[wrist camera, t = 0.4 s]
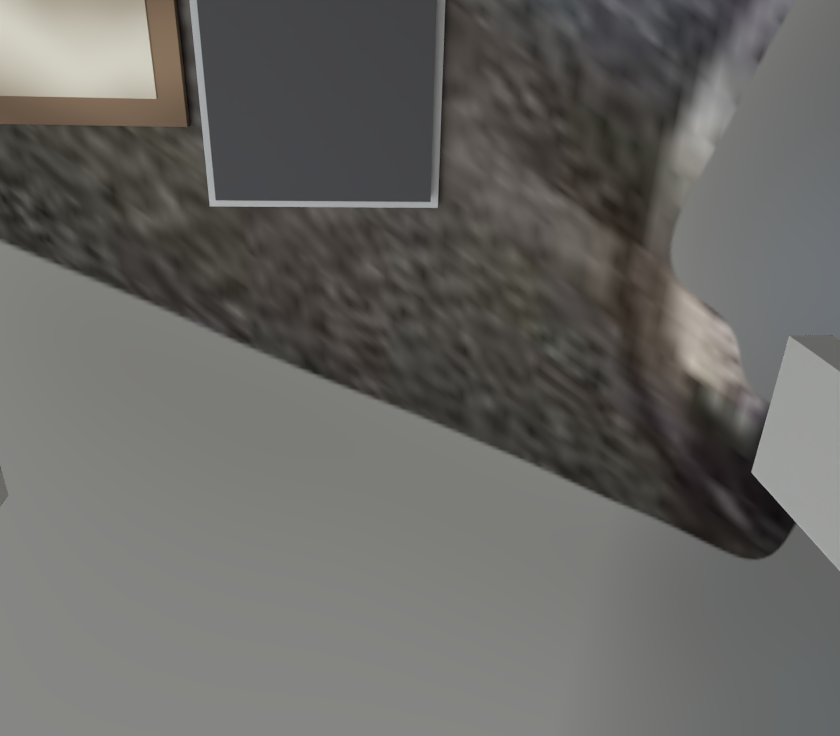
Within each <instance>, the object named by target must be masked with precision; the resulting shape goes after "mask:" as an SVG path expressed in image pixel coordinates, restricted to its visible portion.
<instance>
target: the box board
mask: <svg viewBox="0 0 840 736" xmlns="http://www.w3.org/2000/svg"><path fill="white" fill-rule="evenodd" d="M0 124H35V125H96V126H156V127H188V126H190V123H189V113H188V104H187V94H186V85H185V76H184V66H183V57H182V47H181V38H180V28H179V19H178V9H177V0H0Z"/></svg>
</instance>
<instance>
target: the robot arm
mask: <svg viewBox="0 0 840 736" xmlns="http://www.w3.org/2000/svg"><path fill="white" fill-rule="evenodd" d="M751 473H752V474H753V475H754V476H755V477H756V478H757V479H758V480H759V481H760V483H761V484H762V485H763V486H764V487H765V488H766V489H767V490H768V492H769V493H770V494H771V495H772V496H773V497H774V498H775V499H776V500H777V502H778V503H779V504H780V505H781V506H782V507H783V508H784V509H785V511H786V512H787V513H788V514H789V515H790V516H791V517H792V518H793V519H794V521H795V522H796V523H797V524H798V525H799V526H800V527H801V528H802V529H803V531H804V532H805V533H806V534H807V535H808V536H809V537H810V538H811V540H812V541H813V542H814V543H815V544H816V545H817V546H818V547H819V549H820V550H821V551H822V552H823V553H824V554H825V555H826V556H827V557H828V559H829V560H830V561H831V562H832V563H833V564H834V565H835V566H836V568H837V569H838V570H839V571H840V340H839V339H837V338H836V337H834V336H833V335H814V336H813V335H812V336H811V335H810V336H809V335H808V336H807V335H805V336H789V339H788V342H787V346H786V349H785V353H784V357H783V360H782V364H781V368H780V371H779V375H778V379H777V382H776V386H775V389H774V393H773V396H772V400H771V404H770V407H769V411H768V415H767V418H766V422H765V425H764V429H763V433H762V436H761V440H760V443H759V447H758V451H757V454H756V458H755V462H754V465H753V469H752V472H751ZM7 497H8V492H7V489H6V485H5V481H4V478H3V474H2V471H1V467H0V506H1V505H2V504H3V502H4V501H5V499H6V498H7Z"/></svg>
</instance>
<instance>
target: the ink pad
mask: <svg viewBox="0 0 840 736" xmlns="http://www.w3.org/2000/svg"><path fill="white" fill-rule="evenodd" d="M190 10H191V20H192V30H193V40H194V50H195V60H196V70H197V81H198V91H199V101H200V111H201V121H202V131H203V141H204V151H205V161H206V172H207V182H208V192H209V202H210V206H254V207H405V208H438V189H439V161H440V133H441V106H442V78H443V51H444V23H445V0H190Z"/></svg>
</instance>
